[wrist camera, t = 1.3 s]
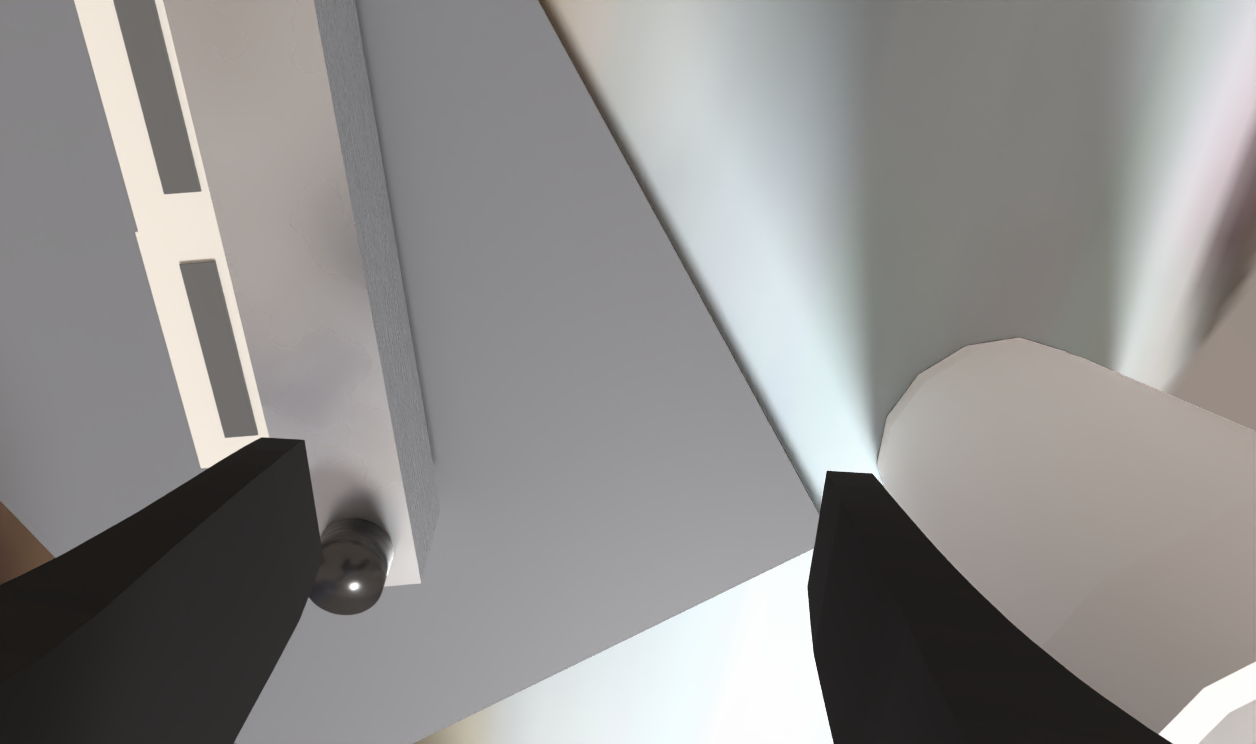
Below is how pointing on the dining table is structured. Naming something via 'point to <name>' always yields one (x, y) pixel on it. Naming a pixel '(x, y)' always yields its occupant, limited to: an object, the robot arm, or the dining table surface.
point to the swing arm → (316, 272)
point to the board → (446, 363)
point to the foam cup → (1093, 525)
